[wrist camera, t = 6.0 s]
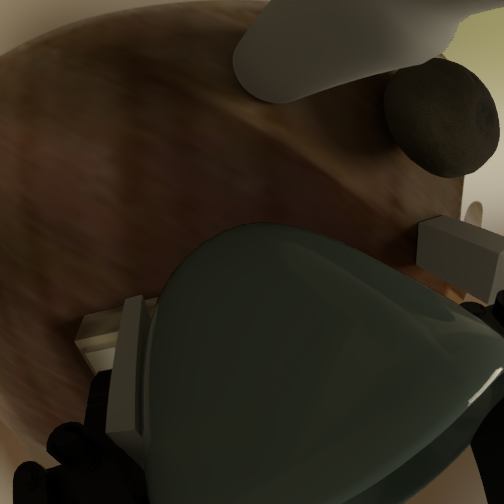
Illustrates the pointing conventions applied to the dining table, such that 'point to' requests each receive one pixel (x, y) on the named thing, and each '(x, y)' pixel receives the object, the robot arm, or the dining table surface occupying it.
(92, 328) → the pedestal
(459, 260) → the milk carton
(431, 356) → the cup
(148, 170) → the dining table surface
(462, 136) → the black ball
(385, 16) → the alcohol
